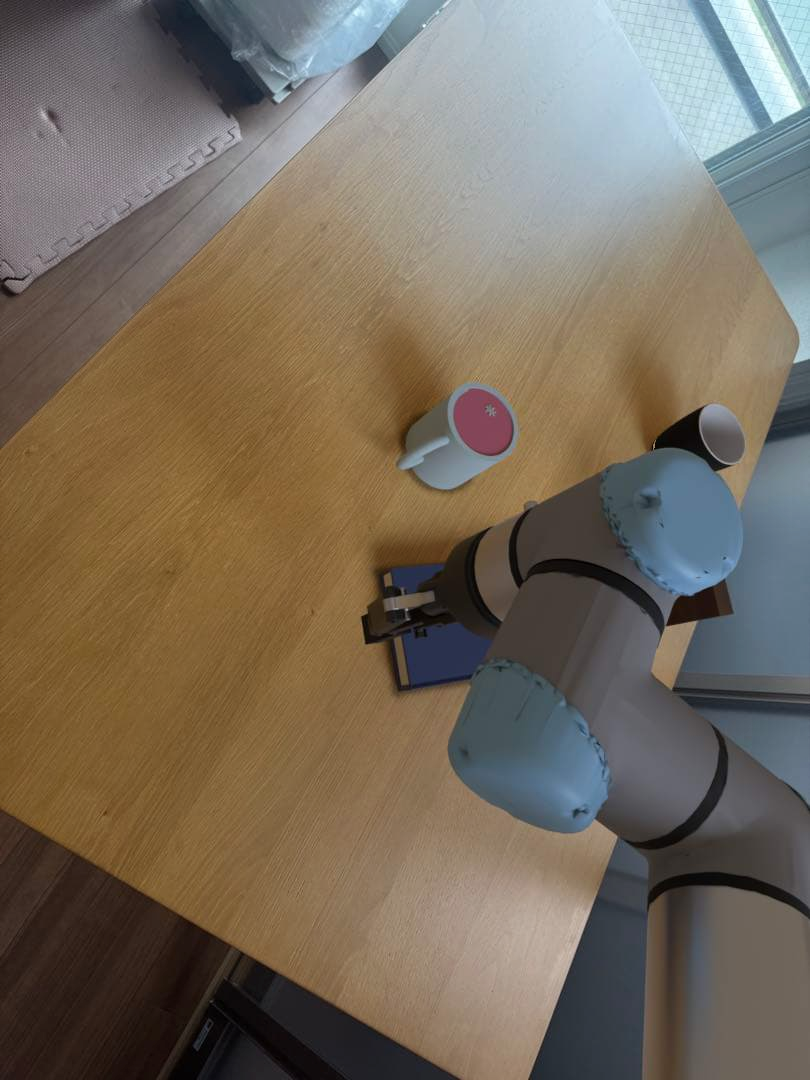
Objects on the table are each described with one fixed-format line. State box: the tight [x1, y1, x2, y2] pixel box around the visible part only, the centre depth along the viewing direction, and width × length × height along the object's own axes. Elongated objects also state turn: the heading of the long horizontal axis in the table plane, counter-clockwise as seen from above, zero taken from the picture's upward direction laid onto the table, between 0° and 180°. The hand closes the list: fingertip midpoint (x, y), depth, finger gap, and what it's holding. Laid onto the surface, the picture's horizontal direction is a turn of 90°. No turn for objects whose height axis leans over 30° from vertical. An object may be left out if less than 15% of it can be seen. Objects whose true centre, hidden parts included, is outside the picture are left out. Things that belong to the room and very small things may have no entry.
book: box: [379, 563, 494, 693], centre depth 84 cm, size 24×13×3 cm, turn 99°
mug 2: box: [650, 402, 747, 473], centre depth 103 cm, size 12×9×10 cm
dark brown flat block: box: [665, 577, 735, 628], centre depth 91 cm, size 2×14×14 cm, turn 9°
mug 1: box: [395, 381, 519, 490], centre depth 83 cm, size 14×9×10 cm
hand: (370, 629), depth 69 cm, fingers closed
